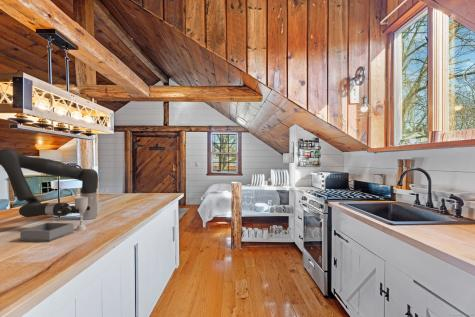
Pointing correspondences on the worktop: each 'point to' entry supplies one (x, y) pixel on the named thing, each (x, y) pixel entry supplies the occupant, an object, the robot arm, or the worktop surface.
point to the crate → (46, 232)
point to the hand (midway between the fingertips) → (84, 209)
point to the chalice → (81, 209)
